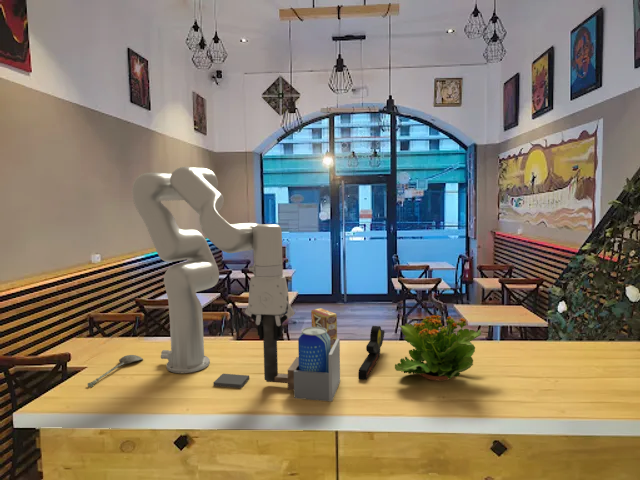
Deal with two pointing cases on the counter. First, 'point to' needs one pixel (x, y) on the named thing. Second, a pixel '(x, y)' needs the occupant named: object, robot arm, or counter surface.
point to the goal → (319, 379)
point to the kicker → (275, 355)
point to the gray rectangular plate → (231, 380)
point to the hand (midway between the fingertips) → (270, 337)
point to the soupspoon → (123, 361)
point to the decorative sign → (372, 352)
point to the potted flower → (438, 348)
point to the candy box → (325, 322)
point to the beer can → (314, 350)
